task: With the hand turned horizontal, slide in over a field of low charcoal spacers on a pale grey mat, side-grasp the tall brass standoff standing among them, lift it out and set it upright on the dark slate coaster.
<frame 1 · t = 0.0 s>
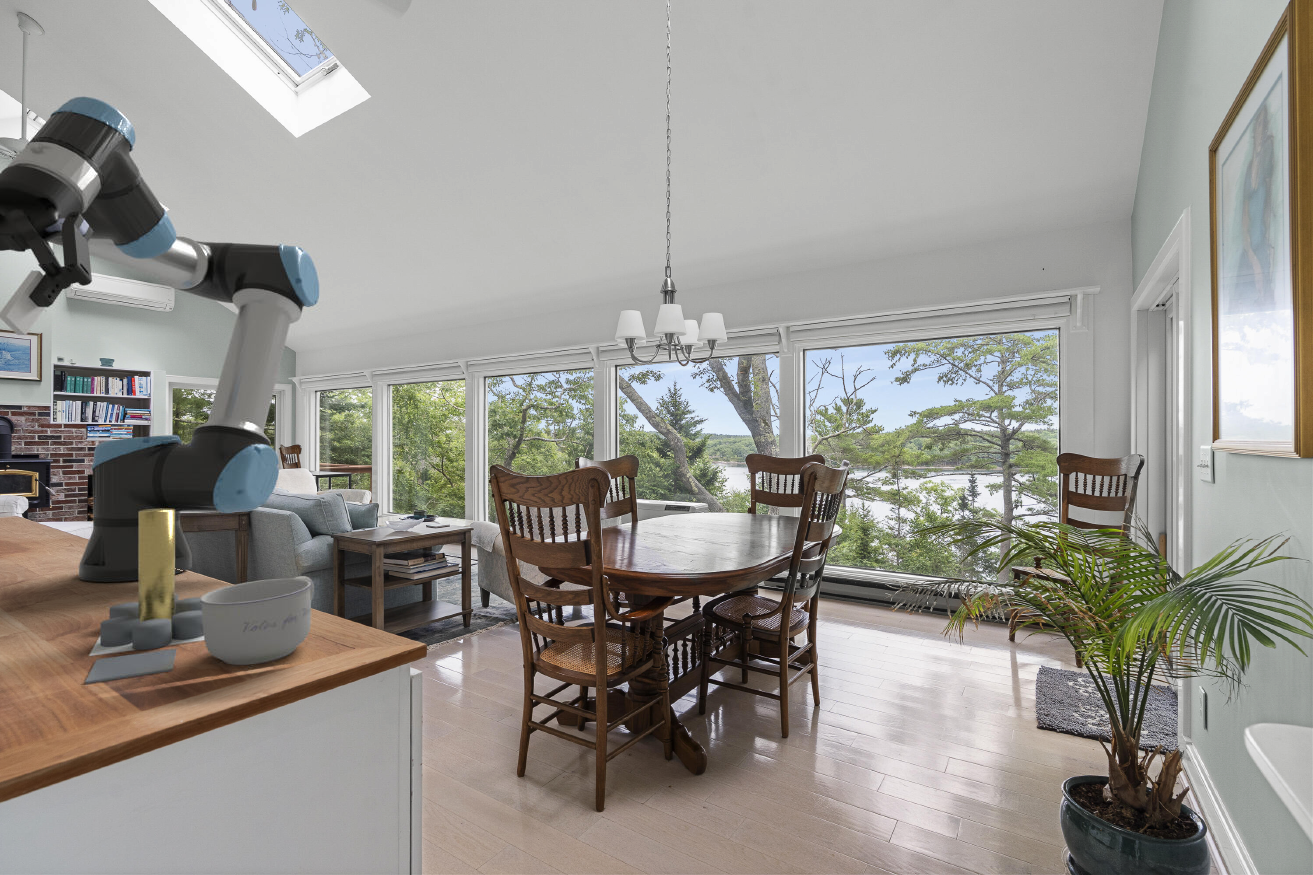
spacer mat: (157, 631, 82), on the worktop
slate coaster: (133, 669, 70), on the worktop
standoff: (156, 630, 81), resting on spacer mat
teacup: (269, 653, 76), on the worktop
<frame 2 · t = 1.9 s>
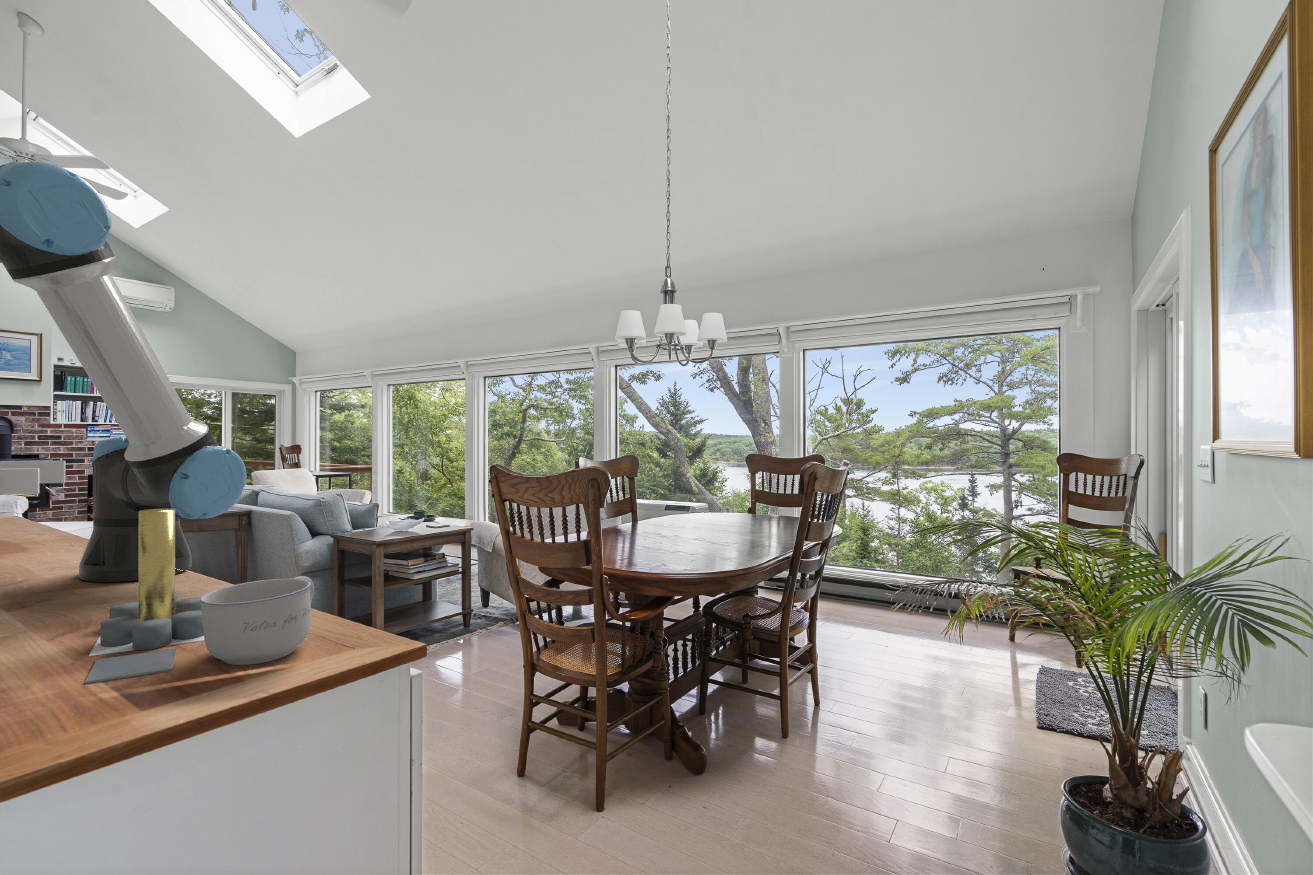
hand: (53, 476, 76), 20 cm above the worktop, tool horizontal, fingers open, 13 cm apart
nothing on the worktop moved.
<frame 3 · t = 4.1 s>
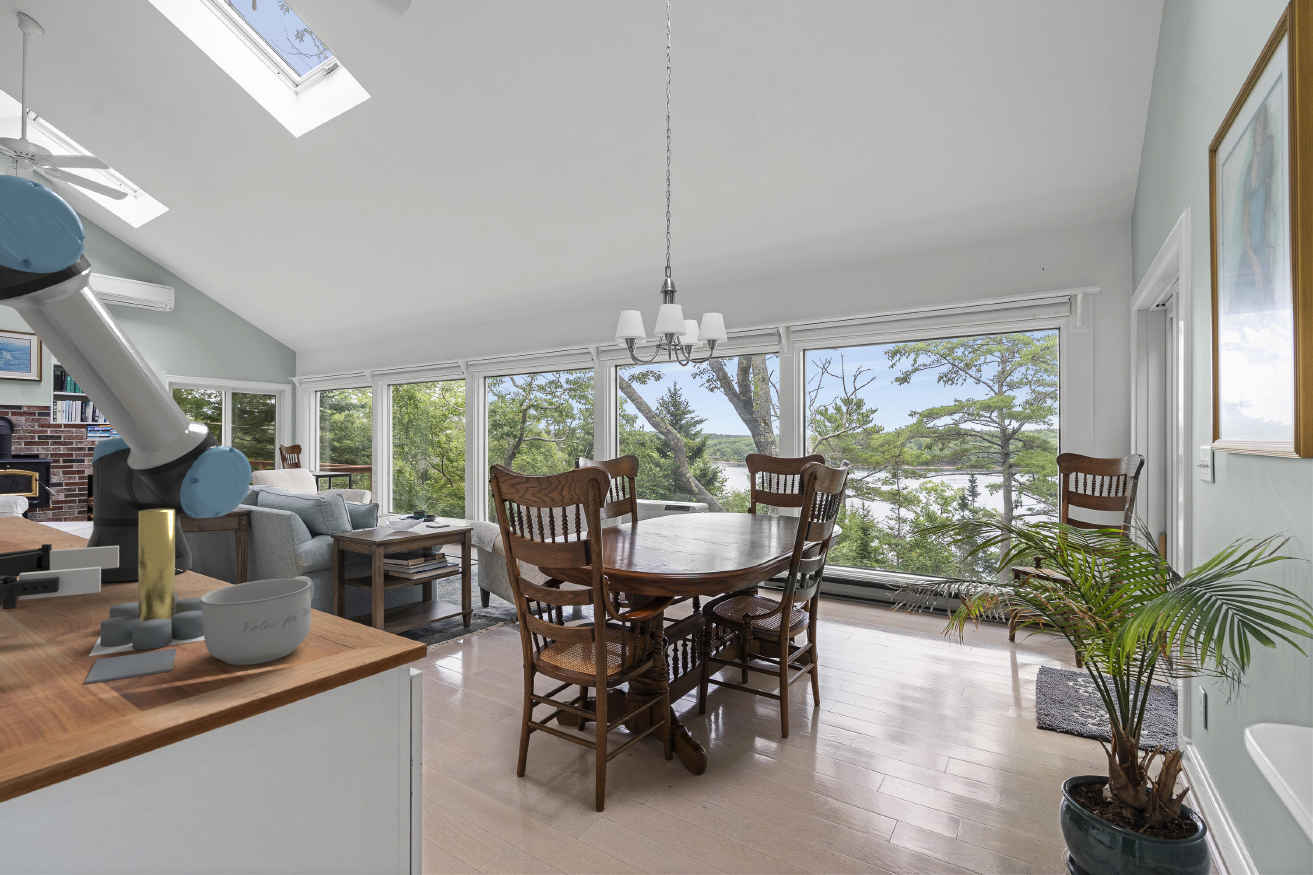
hand: (110, 567, 78), 9 cm above the worktop, tool horizontal, fingers open, 13 cm apart
nothing on the worktop moved.
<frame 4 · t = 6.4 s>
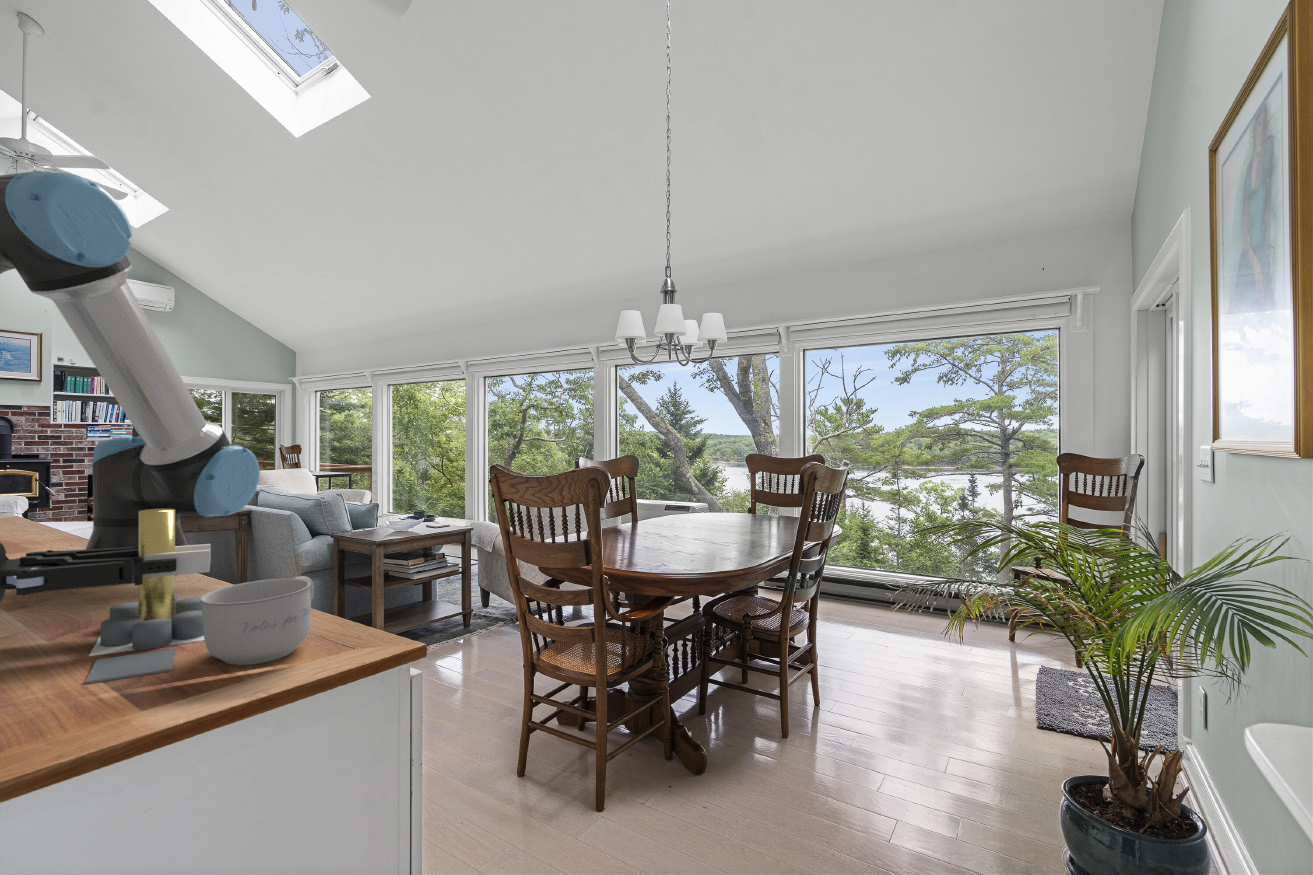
hand: (209, 557, 84), 9 cm above the worktop, tool horizontal, fingers closed on standoff, 4 cm apart
standoff: (156, 630, 81), resting on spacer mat, touching gripper
everything else where it was.
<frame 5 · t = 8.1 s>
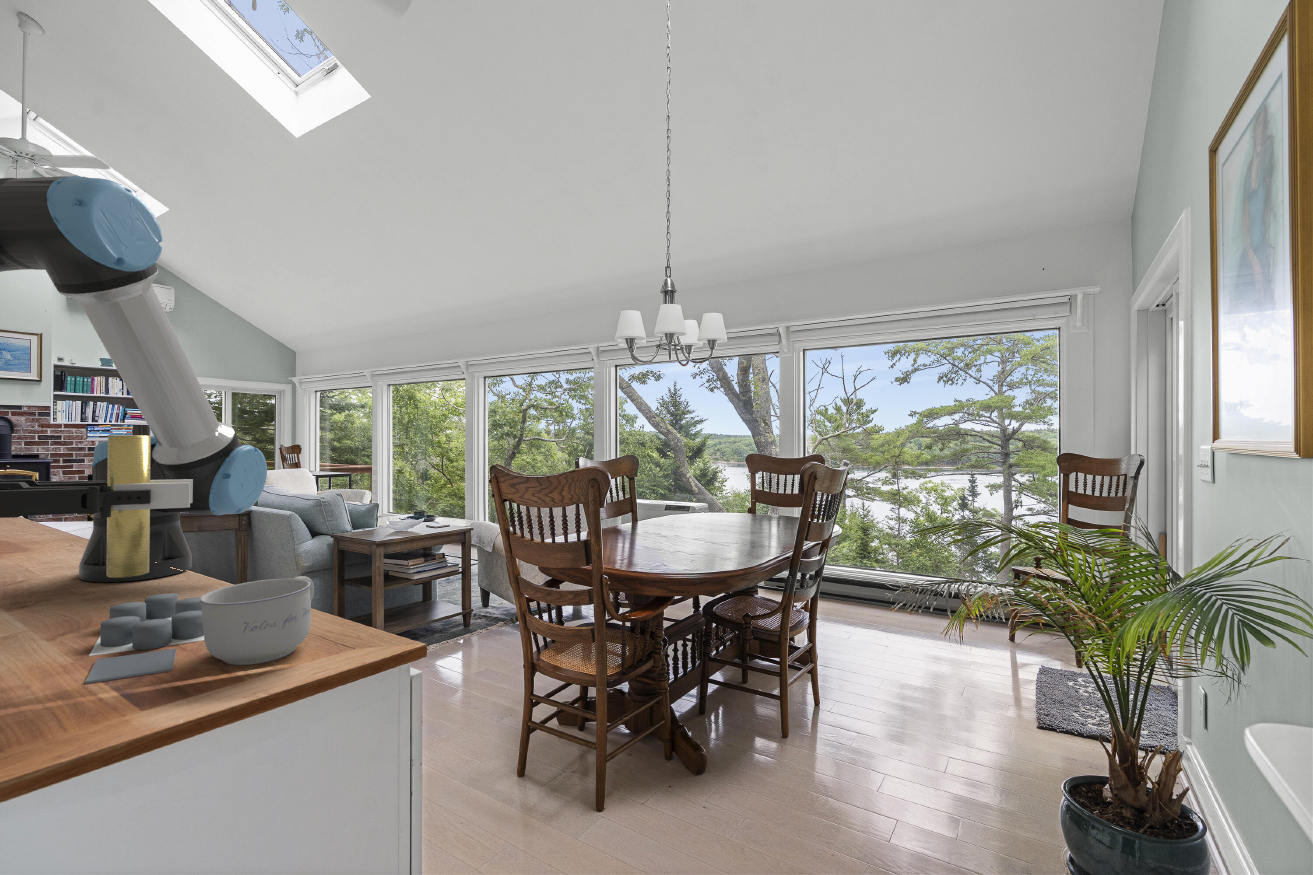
hand: (190, 492, 74), 19 cm above the worktop, tool horizontal, fingers closed on standoff, 4 cm apart
standoff: (128, 573, 71), point 10 cm above the worktop, touching gripper
everything else where it was.
when the fingers open (10 cm above the worktop, at t = 9.9 s): standoff drops 1 cm, resting on slate coaster.
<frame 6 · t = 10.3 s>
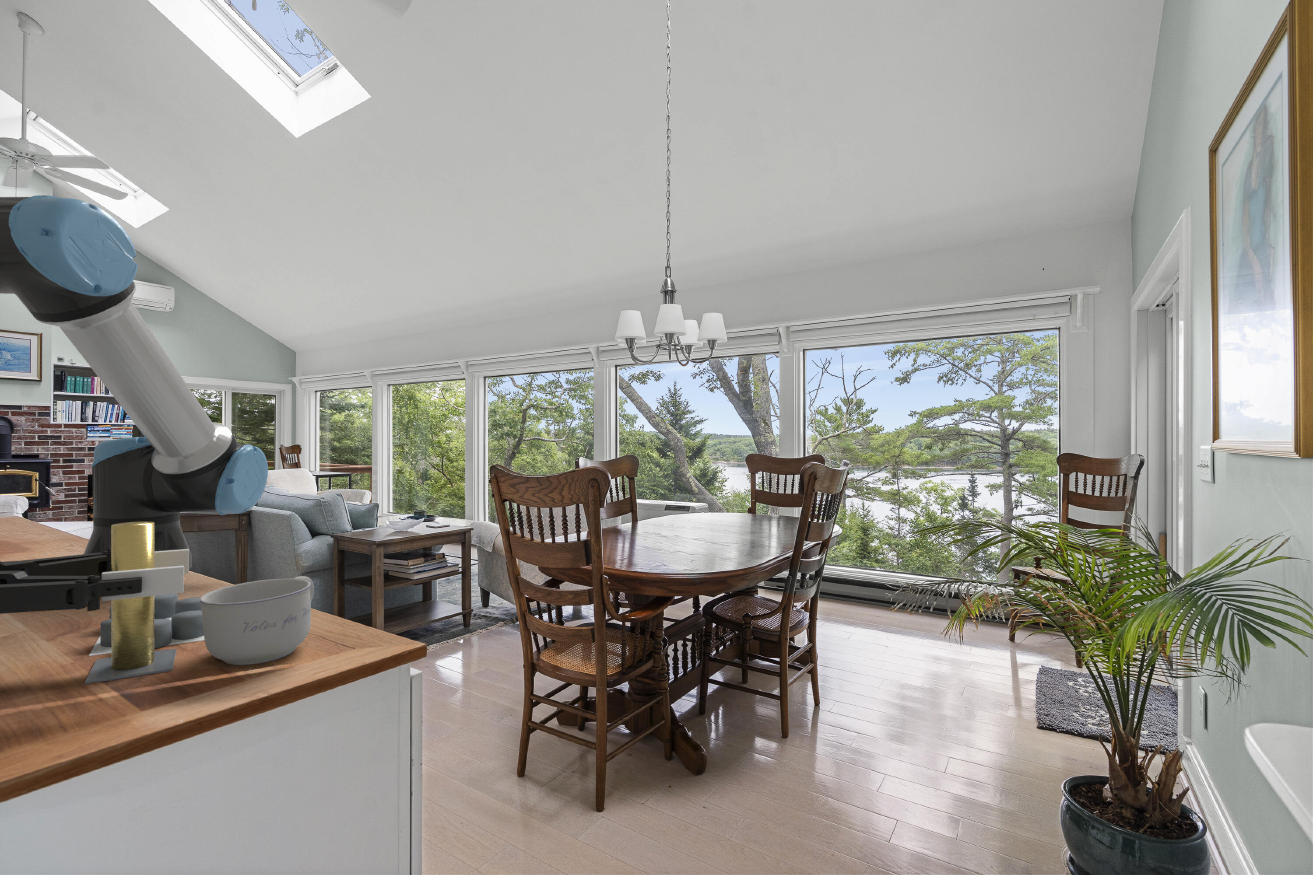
hand: (186, 569, 72), 10 cm above the worktop, tool horizontal, fingers open, 9 cm apart
standoff: (133, 663, 70), point 1 cm above the worktop, touching slate coaster
everything else where it was.
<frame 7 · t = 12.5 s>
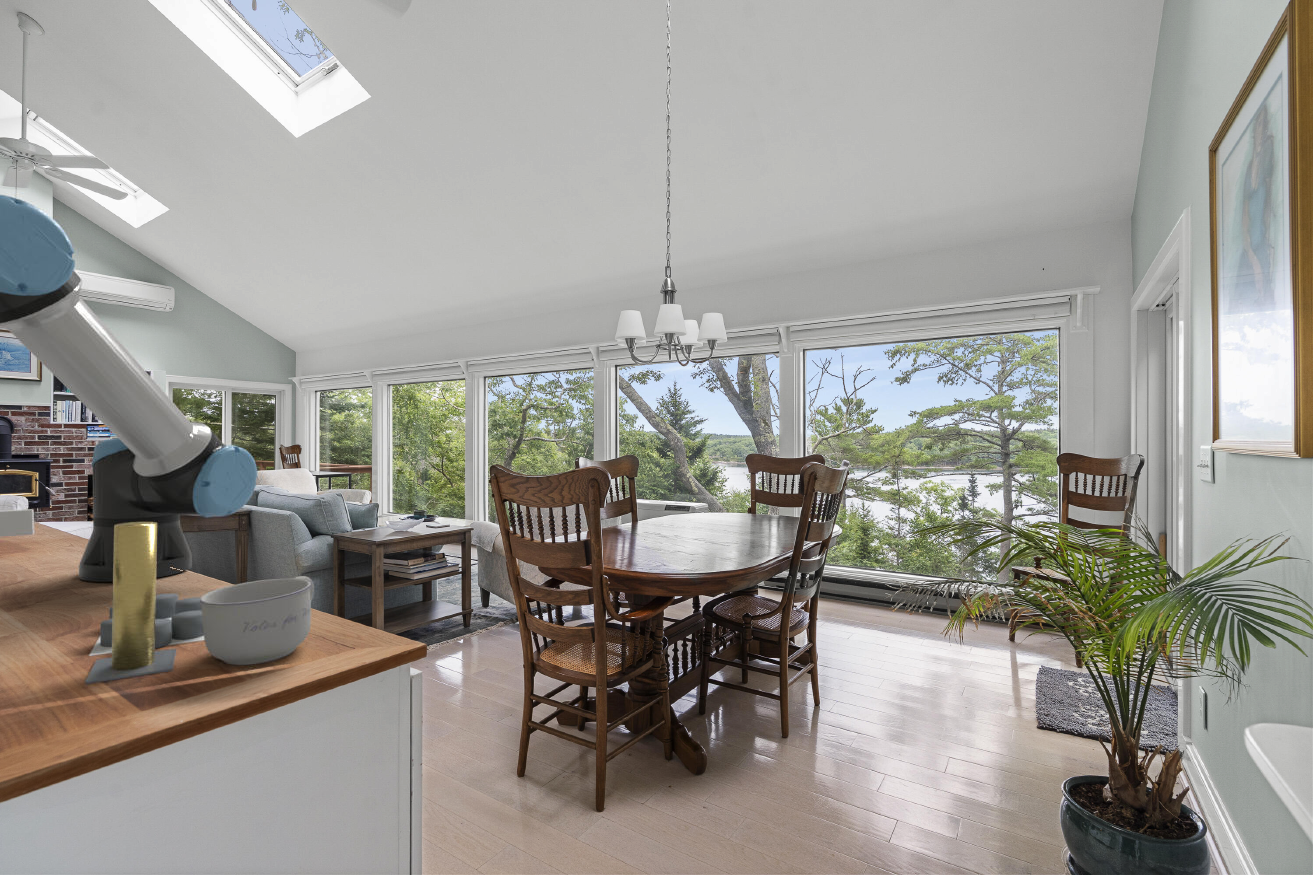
hand: (17, 532, 66), 15 cm above the worktop, tool horizontal, fingers open, 13 cm apart
nothing on the worktop moved.
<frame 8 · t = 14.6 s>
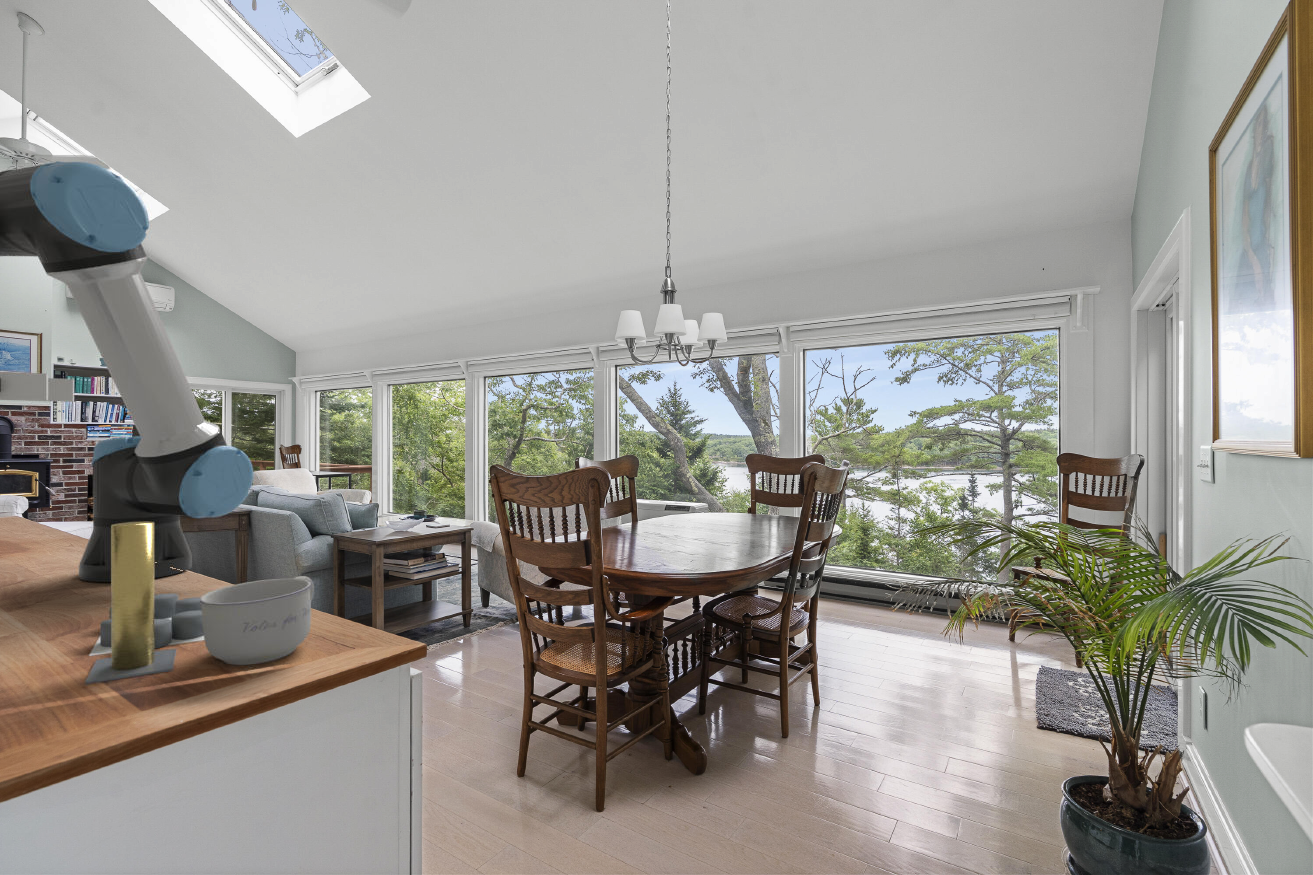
hand: (62, 388, 73), 30 cm above the worktop, tool horizontal, fingers open, 13 cm apart
nothing on the worktop moved.
at the end: standoff inside the target area on the slate coaster (0.1 cm from its centre), point 0.6 cm above the slate coaster's base; standoff tilted 1°; the gripper is holding nothing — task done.
